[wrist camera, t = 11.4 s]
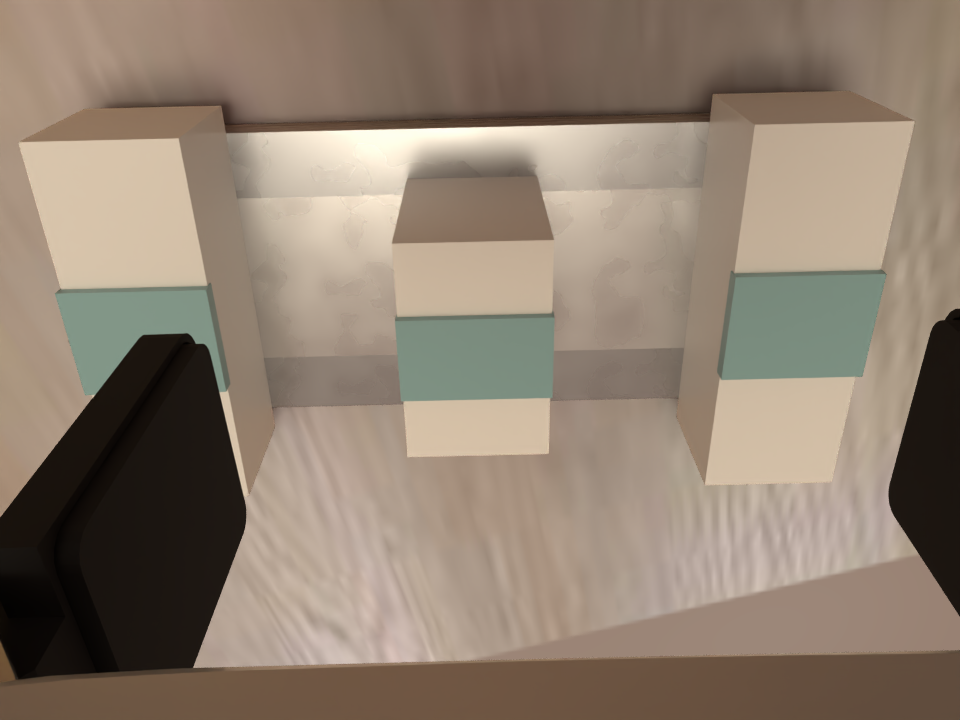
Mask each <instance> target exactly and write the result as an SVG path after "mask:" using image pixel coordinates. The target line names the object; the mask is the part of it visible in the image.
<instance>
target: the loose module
mask: <svg viewBox="0 0 960 720" xmlns="http://www.w3.org/2000/svg"><path fill="white" fill-rule="evenodd" d="M392 255H393V269H394V282H395V295H396V308H397V314H396V318H395V329H396V342H397V355H398V368H399V381H400V394H401V401H404V414H405V428H406V441H407V454H408V457H433V456H476V455H520V454H549V420H550V398H552V396H553V359H554V323H555V317H554V312H553V311H552V303H553V264H554V238H553V234H552V230H551V226H550V223H549V219H548V215H547V211H546V207H545V204H544V200H543V196H542V192H541V188H540V185H539V181H538V177H537V176H523V177H479V178H434V179H407V180H406V185H405V189H404V193H403V198H402V202H401V206H400V210H399V215H398V219H397V223H396V227H395V232H394V236H393V240H392Z"/></svg>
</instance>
